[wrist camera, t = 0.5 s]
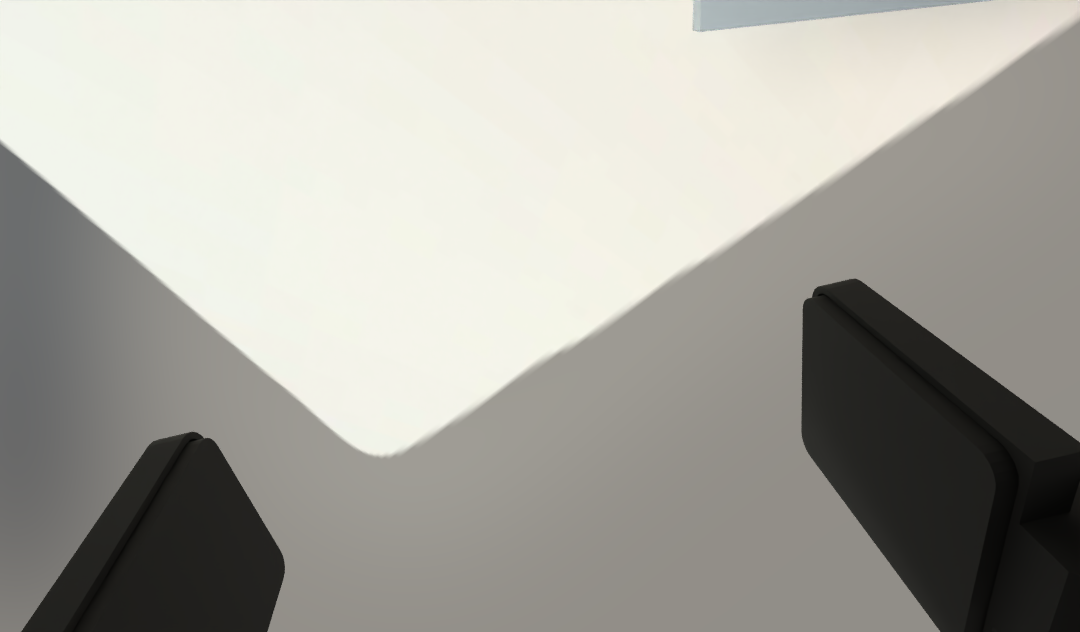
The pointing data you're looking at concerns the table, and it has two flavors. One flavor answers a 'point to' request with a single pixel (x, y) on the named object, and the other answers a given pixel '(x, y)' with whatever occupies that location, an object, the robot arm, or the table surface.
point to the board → (794, 10)
